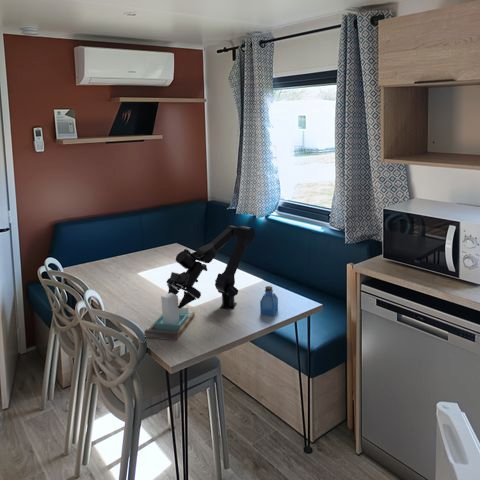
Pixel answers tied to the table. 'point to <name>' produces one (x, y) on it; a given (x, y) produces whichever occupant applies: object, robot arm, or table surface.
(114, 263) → the table surface
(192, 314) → the dock
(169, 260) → the table surface
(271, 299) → the perfume bottle
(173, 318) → the light grey block
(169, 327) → the tray
